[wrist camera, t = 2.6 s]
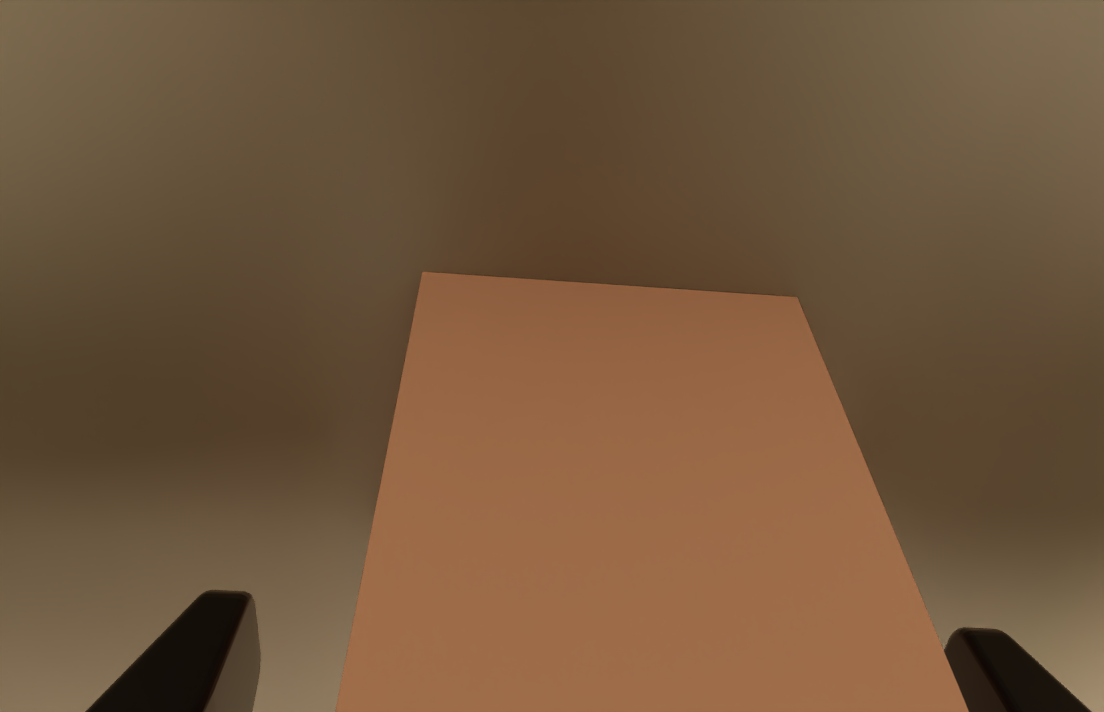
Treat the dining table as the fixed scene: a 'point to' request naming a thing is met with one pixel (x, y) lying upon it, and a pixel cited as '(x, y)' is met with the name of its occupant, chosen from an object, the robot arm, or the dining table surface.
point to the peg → (629, 516)
